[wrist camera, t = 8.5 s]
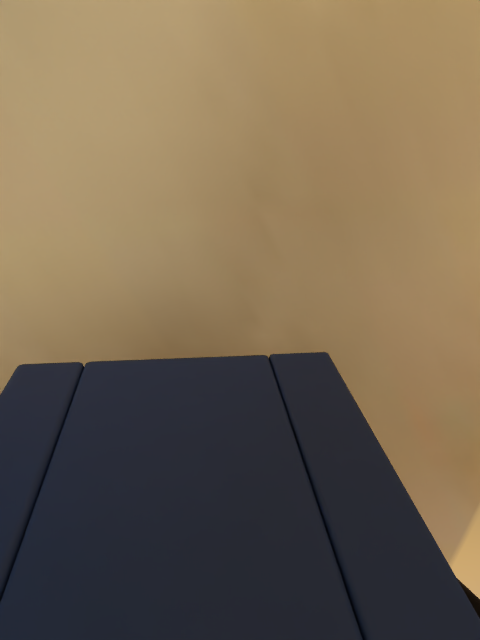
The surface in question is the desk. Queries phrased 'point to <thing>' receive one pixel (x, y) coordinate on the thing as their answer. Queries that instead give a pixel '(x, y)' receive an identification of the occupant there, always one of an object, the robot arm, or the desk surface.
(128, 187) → the desk surface
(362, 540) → the blue collar
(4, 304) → the desk surface
